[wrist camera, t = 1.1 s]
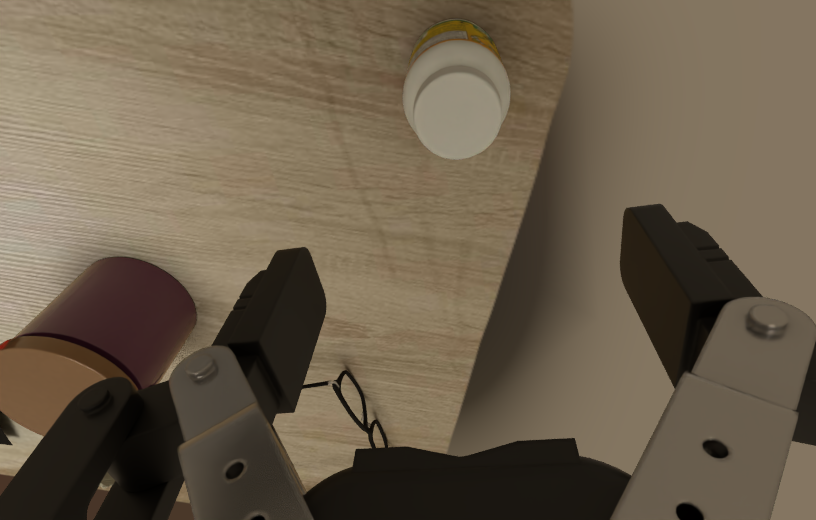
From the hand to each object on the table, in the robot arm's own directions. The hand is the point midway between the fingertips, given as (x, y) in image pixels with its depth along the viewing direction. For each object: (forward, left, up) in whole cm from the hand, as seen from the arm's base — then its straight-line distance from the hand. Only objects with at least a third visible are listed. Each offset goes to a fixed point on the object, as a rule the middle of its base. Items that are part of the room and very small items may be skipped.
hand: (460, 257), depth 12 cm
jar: (+15, -30, -21) cm, 39 cm away
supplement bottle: (0, 0, -21) cm, 21 cm away
